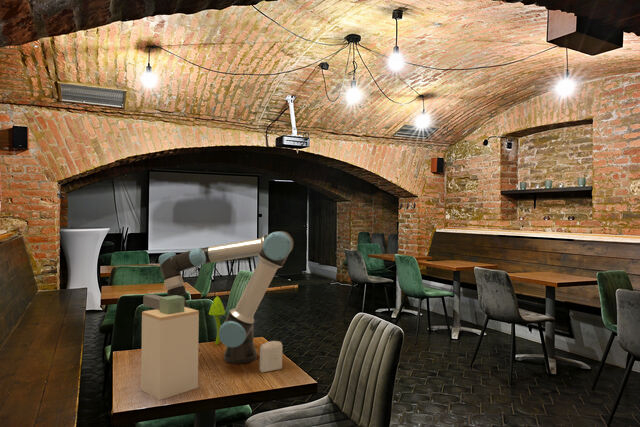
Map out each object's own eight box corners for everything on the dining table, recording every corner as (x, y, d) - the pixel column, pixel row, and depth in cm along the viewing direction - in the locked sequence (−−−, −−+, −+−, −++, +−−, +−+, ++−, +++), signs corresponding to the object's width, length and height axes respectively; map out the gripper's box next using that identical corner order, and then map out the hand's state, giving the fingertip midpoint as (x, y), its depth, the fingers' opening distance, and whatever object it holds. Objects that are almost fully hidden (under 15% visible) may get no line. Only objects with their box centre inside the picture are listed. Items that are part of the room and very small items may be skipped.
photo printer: (279, 366, 199) (279, 338, 199) (283, 369, 195) (283, 340, 195) (258, 370, 193) (258, 342, 193) (262, 373, 190) (262, 344, 190)
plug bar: (184, 311, 172) (184, 297, 172) (167, 314, 167) (167, 299, 167) (155, 303, 187) (156, 290, 187) (139, 305, 182) (139, 292, 182)
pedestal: (197, 387, 173) (198, 310, 173) (159, 400, 162) (160, 317, 162) (178, 378, 183) (179, 305, 183) (141, 389, 171) (142, 311, 171)
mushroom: (213, 341, 236) (214, 294, 236) (227, 342, 233) (228, 295, 233) (205, 345, 228) (205, 297, 228) (220, 347, 225) (220, 298, 225)
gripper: (175, 290, 206) (187, 336, 203) (157, 290, 182) (171, 342, 179) (191, 285, 207) (203, 330, 203) (175, 284, 183) (189, 336, 179)
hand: (188, 336), depth 191 cm, fingers open, 12 cm apart
